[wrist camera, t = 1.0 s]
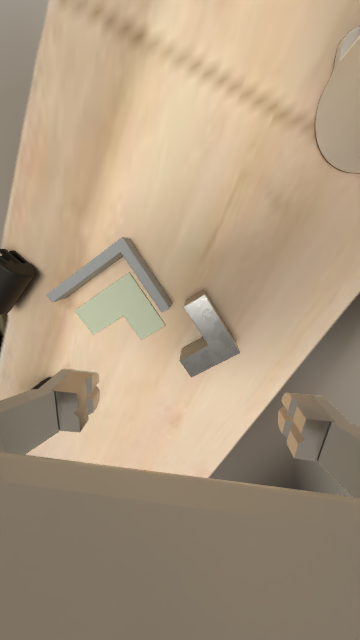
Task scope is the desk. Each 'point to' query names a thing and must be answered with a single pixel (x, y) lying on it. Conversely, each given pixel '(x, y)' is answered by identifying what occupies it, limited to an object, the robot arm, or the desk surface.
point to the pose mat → (121, 308)
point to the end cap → (13, 278)
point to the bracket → (207, 337)
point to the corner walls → (105, 260)
